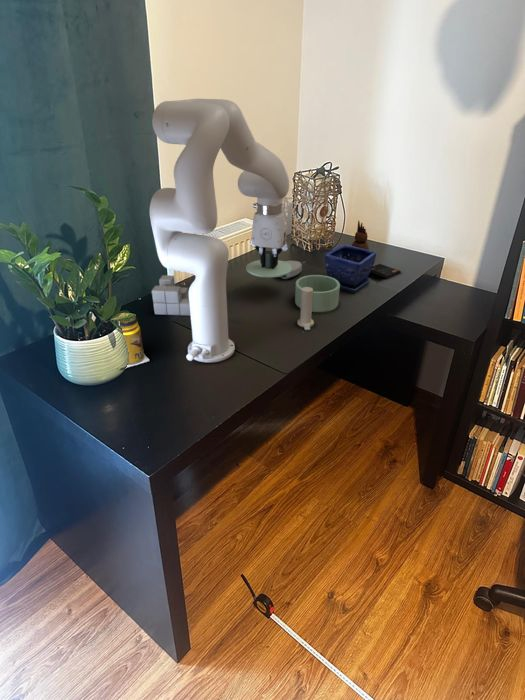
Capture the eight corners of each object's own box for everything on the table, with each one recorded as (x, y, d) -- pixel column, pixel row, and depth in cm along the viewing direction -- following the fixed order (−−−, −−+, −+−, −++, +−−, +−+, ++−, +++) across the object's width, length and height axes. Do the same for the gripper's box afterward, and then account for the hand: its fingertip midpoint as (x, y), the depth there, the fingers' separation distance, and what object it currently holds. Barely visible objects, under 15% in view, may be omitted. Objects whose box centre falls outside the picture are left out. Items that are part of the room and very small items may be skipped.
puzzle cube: (193, 315, 151) (190, 292, 147) (154, 314, 152) (151, 290, 148) (200, 298, 161) (199, 276, 157) (164, 297, 162) (162, 275, 158)
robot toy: (254, 278, 177) (291, 284, 170) (253, 266, 175) (290, 271, 168) (271, 267, 186) (307, 272, 179) (270, 255, 184) (307, 260, 177)
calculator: (400, 273, 179) (401, 265, 177) (380, 281, 172) (381, 273, 170) (379, 265, 185) (380, 258, 183) (359, 274, 178) (360, 266, 177)
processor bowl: (331, 316, 150) (333, 295, 146) (289, 309, 155) (289, 288, 151) (343, 298, 161) (344, 278, 157) (302, 292, 165) (303, 272, 162)
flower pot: (374, 284, 170) (378, 251, 164) (356, 297, 161) (359, 263, 155) (340, 275, 177) (343, 243, 171) (321, 287, 168) (323, 254, 162)
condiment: (149, 360, 129) (144, 320, 123) (118, 371, 125) (110, 329, 119) (139, 348, 135) (133, 309, 128) (109, 358, 131) (101, 317, 124)
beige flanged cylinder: (315, 332, 142) (318, 295, 136) (299, 332, 142) (300, 296, 136) (311, 317, 150) (313, 282, 144) (295, 317, 149) (296, 282, 143)
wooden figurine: (347, 258, 191) (351, 219, 184) (361, 256, 193) (365, 218, 185) (355, 264, 186) (359, 225, 178) (369, 262, 187) (374, 223, 180)
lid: (282, 282, 151) (282, 262, 148) (238, 275, 155) (238, 256, 152) (297, 266, 162) (298, 248, 159) (256, 260, 167) (256, 242, 164)
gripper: (240, 209, 149) (241, 267, 158) (290, 214, 143) (288, 274, 153) (250, 203, 155) (250, 259, 164) (299, 208, 149) (296, 266, 159)
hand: (269, 266), depth 158 cm, fingers closed on lid, 2 cm apart
